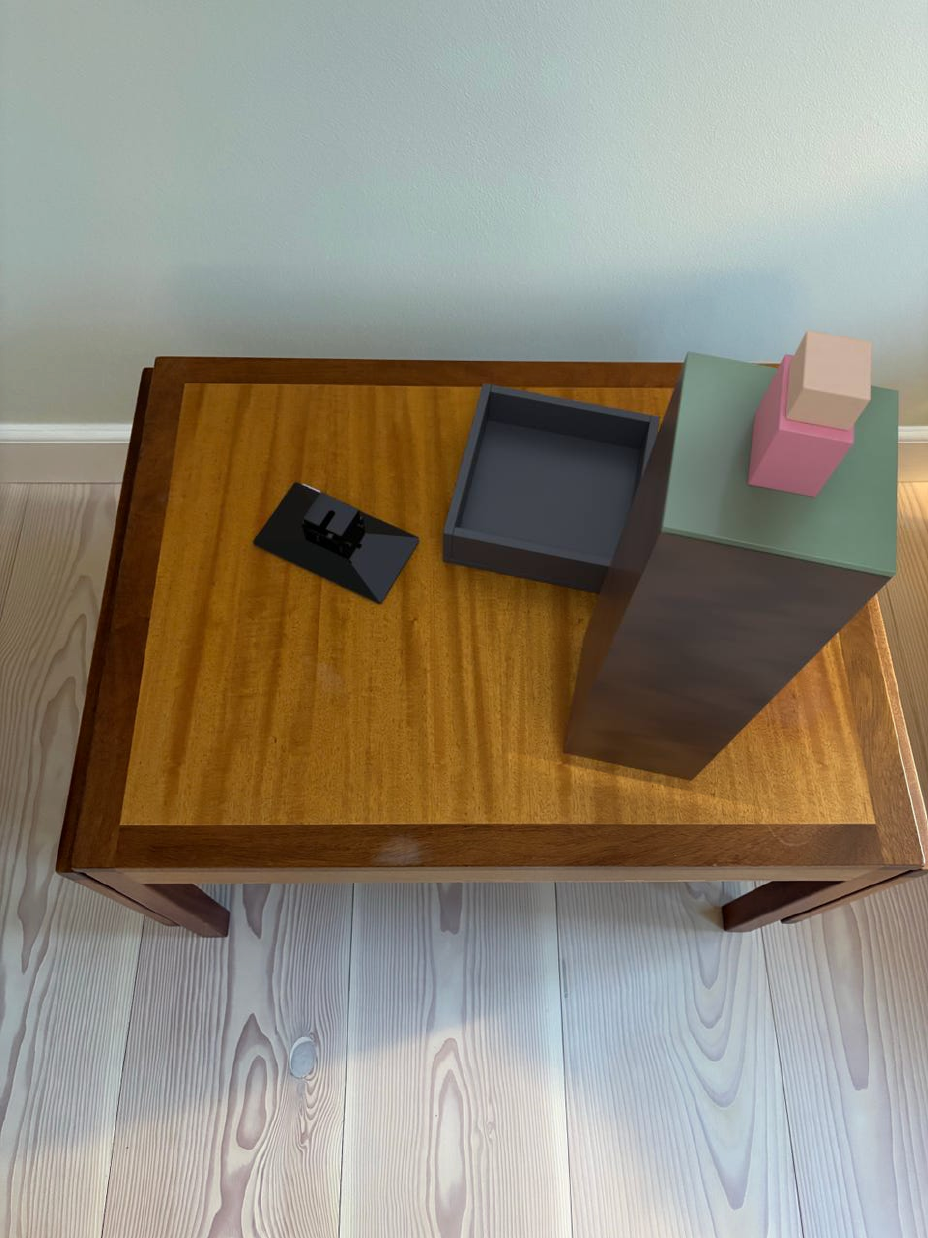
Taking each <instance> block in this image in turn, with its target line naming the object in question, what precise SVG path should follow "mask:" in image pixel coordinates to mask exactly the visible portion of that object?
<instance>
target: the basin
mask: <svg viewBox="0 0 928 1238" xmlns="http://www.w3.org/2000/svg"><path fill="white" fill-rule="evenodd" d="M660 420H661V416H658V415H652V414H647V413H641V412H637V411H632V410H628V409H622V408H617V407H612V406H605V405H601V404H595V403H591V402H586V401H580V400H575V399H569V398H564V397H559V396H554V395H548V394H544V393H538V392H532V391H528V390H523V389H517V388H512V387H506V386H502V385H497V384H491V383H485V382H483V383H482V385H481V389H480V392H479V396H478V400H477V404H476V406H475V411H474V413H473V418H472V423H471V425H470V430H469V434H468V437H467V440H466V444H465V448H464V452H463V455H462V458H461V459H462V460H461V463H460V467H459V471H458V475H457V478H456V482H455V486H454V490H453V493H452V497H451V500H450V505H449V509H448V512H447V516H446V520H445V523H444V527H443V532H442V562H443V563H448V564H452V565H457V566H461V567H467V568H472V569H475V570H476V569H477V570H482V571H486V572H491V573H495V574H496V573H497V574H501V575H505V576H511V577H515V578H520V579H526V580H530V581H533V582H534V581H535V582H540V583H545V584H550V585H554V586H560V587H564V588H569V589H573V590H579V591H583V592H588V593H593V594H598V595H599V594H600V591H601V588H602V586H603V583H604V580H605V577H606V575H607V572H608V569H609V566H610V564H611V561H612V558H613V555H614V553H615V550H616V547H617V544H618V542H619V539H620V536H621V533H622V531H623V528H624V525H625V522H626V520H627V517H628V514H629V511H630V509H631V506H632V503H633V500H634V498H635V495H636V492H637V489H638V487H639V484H640V481H641V478H642V476H643V473H644V470H645V467H646V465H647V462H648V459H649V456H650V454H651V451H652V448H653V445H654V443H655V440H656V437H657V434H658V432H659V428H660V427H659V426H660Z"/></svg>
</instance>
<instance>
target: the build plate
mask: <svg viewBox="0 0 928 1238" xmlns="http://www.w3.org/2000/svg"><path fill="white" fill-rule="evenodd" d="M252 543H253V545H254V547H256V548H259V549H260V550H264V551H265V552H267V553H269V554H272V555H274V556H275V557H278V558H280V559H282V560H284V561H287V563H288V562H289V563H291V564H292V565H295V566H297V567H299V568H301V569H303V570H305V571H308V572H309V573H312V574H314V575H316V576H317V577H321V578H322V579H324V580H327V581H328V582H331V583H332V584H334V585H337V586H339V587H341V588H343V589H345V590H348V591H350V592H352V593H354V594H356V595H359V596H361V597H363V598H365V599H366V600H369V601H371V602H373V603H375V604H378V605H381V604H383V602H384V601H385V599H386V597H387V595H388V594H389V592H390V591H391V589H392V587H393V585H394V584H395V582H396V581H397V579H398V578H399V576H400V574H401V572H402V571H403V569H404V568H405V566H406V565H407V563H408V561H409V559H410V558H411V556H412V555H413V553H414V551H415V550H416V548H417V546H418V544H419V543H420V537H419V536H417V535H414V534H413V533H410V532H409V531H406V530H404V529H401V528H399V527H397V526H394V525H393V524H390V523H388V522H386V521H384V520H381V519H380V518H377V517H375V516H373V515H371V514H368V513H366V512H363V511H361V510H360V509H359V508H357V507H355V506H353V505H351V504H348V503H346V502H343V501H342V500H340V499H338V498H335V497H333V496H330V495H329V494H326V493H324V492H322V491H320V490H319V489H316V488H314V487H312V486H310V485H307V484H306V483H300V482H297V481H296V482H293V484H292V485H291V487H290V488H289V490H288V491H287V492H286V493H285V495H284V496H283V498H282V499H281V501H280V502H279V504H278V505H277V506H276V508H275V509H274V511H273V512H272V513H271V515H270V516H269V517H268V519H267V521H266V522H265V523H264V525H263V526H262V528H261V529H260V530H259V532H258V533H257V534H256V536H255V538H254V539H253V541H252Z"/></svg>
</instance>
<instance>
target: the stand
mask: <svg viewBox="0 0 928 1238" xmlns="http://www.w3.org/2000/svg"><path fill="white" fill-rule="evenodd" d="M777 369H778V367H774V366H768V365H762V364H757V363H753V362H747V361H742V360H735V359H731V358H725V357H721V356H715V355H709V354H705V353H698V352H694V351H687V353H686V355H685V357H684V360H683V363H682V365H681V368H680V371H679V374H678V376H677V379H676V382H675V385H674V387H673V390H672V393H671V396H670V398H669V402H668V405H667V407H666V410H665V413H664V415H663V418H662V421H661V424H660V425H659V426H660V427H659V428H658V434H657V437H656V440H655V443H654V445H653V448H652V451H651V454H650V456H649V459H648V462H647V465H646V467H645V470H644V473H643V476H642V478H641V481H640V484H639V487H638V489H637V492H636V495H635V498H634V500H633V503H632V506H631V509H630V511H629V514H628V517H627V520H626V522H625V525H624V528H623V531H622V533H621V536H620V539H619V542H618V544H617V547H616V550H615V553H614V555H613V558H612V561H611V564H610V566H609V569H608V572H607V575H606V577H605V580H604V583H603V586H602V588H601V591H600V594H598V596H597V600H596V603H595V604H594V608H593V610H592V613H591V616H590V618H589V622H588V624H587V627H586V629H585V632H584V636H583V638H582V645H581V649H580V655H579V661H578V665H577V672H576V678H575V684H574V690H573V695H572V699H571V705H570V712H569V718H568V723H567V729H566V734H565V740H564V746H563V751H562V752H563V754H567V755H572V756H576V757H581V758H585V759H591V760H594V761H599V762H603V763H608V764H613V765H617V766H622V767H626V768H630V769H637V770H641V771H645V772H650V773H653V774H659V775H663V776H669V777H672V778H677V779H682V780H686V781H691V782H692V781H694V779H695V778H696V777H697V776H698V775H699V774H700V773H702V771H703V770H704V769H705V768H706V767H707V766H708V765H709V764H710V763H711V762H712V761H713V760H714V759H715V758H716V757H717V756H718V755H719V754H720V753H721V752H722V751H723V750H724V749H725V748H727V746H728V745H729V744H730V743H731V742H732V741H733V740H734V739H736V737H737V736H738V735H739V734H740V733H741V732H742V731H743V730H744V729H745V728H746V726H748V725H749V723H751V722H752V720H754V718H755V717H756V716H757V715H758V714H760V713H761V711H762V710H763V709H764V708H765V707H766V706H768V704H770V702H771V701H772V700H773V699H774V698H775V697H776V696H777V695H778V694H779V693H780V692H781V691H782V690H784V688H785V687H786V686H787V685H788V684H789V683H790V682H791V681H792V680H793V679H794V678H795V677H796V676H797V675H798V674H799V673H800V672H801V671H802V670H803V669H804V668H805V667H806V666H807V665H808V664H809V663H810V662H811V661H812V660H813V658H815V657H816V656H817V655H818V654H819V652H820V651H822V649H824V648H825V646H827V644H829V643H830V641H832V639H834V637H836V635H838V633H839V632H840V631H841V630H842V629H843V628H844V627H846V625H847V624H848V623H850V621H852V619H853V618H854V617H855V616H856V615H857V614H858V613H859V612H860V611H861V610H862V609H863V608H864V607H865V606H866V605H867V604H868V603H869V602H870V601H871V600H872V599H873V598H874V597H875V596H876V595H877V594H878V593H879V592H880V591H881V590H882V589H883V588H884V587H885V586H886V584H888V582H889V581H891V579H892V578H894V576H896V574H897V572H898V570H897V569H898V568H897V566H898V562H897V560H898V493H899V492H898V490H899V489H898V488H899V487H898V483H899V471H898V470H899V469H898V468H899V414H900V413H899V408H900V407H899V404H900V403H899V402H900V401H899V400H900V399H899V398H900V390H898V389H891V388H887V387H881V386H876V385H871V400H870V401H869V403H868V404H867V406H866V407H865V409H864V410H863V412H862V413H861V414H860V416H859V417H858V419H857V420H856V422H855V423H854V443H853V444H852V446H851V447H850V449H849V450H848V452H847V453H846V454H845V456H844V457H843V459H842V460H841V462H840V463H839V464H838V466H837V467H836V469H835V470H834V472H833V473H832V474H831V476H830V477H829V479H828V480H827V482H826V483H825V485H824V486H823V487H822V489H821V490H820V492H819V493H818V495H817V496H816V497H810V496H805V495H800V494H795V493H790V492H785V491H780V490H775V489H770V488H764V487H759V486H754V485H749V484H748V479H749V469H750V458H751V448H752V438H753V428H754V418H755V413H756V411H757V409H758V407H759V405H760V403H761V401H762V399H763V397H764V395H765V393H766V391H767V389H768V387H769V385H770V383H771V381H772V379H773V377H774V375H775V373H776V371H777Z"/></svg>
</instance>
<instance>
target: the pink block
mask: <svg viewBox="0 0 928 1238" xmlns="http://www.w3.org/2000/svg"><path fill="white" fill-rule="evenodd" d="M872 360H873V342H872V341H871V340H865V339H860V338H854V337H849V336H843V335H837V334H833V333H832V334H831V333H827V332H822V331H815V330H810V329H808V330H806V332H805V333H804V335H803V338H802V339H801V341H800V343H799V345H798V347H797V349H796V351H795V352H794V355H793V354H787V353H786V354H784V356H783V358H782V360H781V361H780V364H779V365H778V367H777V368H778V369H777V371H776V373H775V375H774V377H773V379H772V381H771V383H770V385H769V387H768V389H767V391H766V393H765V395H764V397H763V399H762V401H761V403H760V405H759V407H758V409H757V411H756V413H755V418H754V428H753V438H752V448H751V458H750V469H749V479H748V484H749V485H754V486H759V487H764V488H770V489H775V490H780V491H785V492H790V493H795V494H800V495H805V496H810V497H816V496H817V495H818V493H819V492H820V490H821V489H822V487H823V486H824V485H825V483H826V482H827V480H828V479H829V477H830V476H831V474H832V473H833V472H834V470H835V469H836V467H837V466H838V464H839V463H840V462H841V460H842V459H843V457H844V456H845V454H846V453H847V452H848V450H849V449H850V447H851V446H852V444H853V443H854V423H855V422H856V420H857V419H858V417H859V416H860V414H861V413H862V412H863V410H864V409H865V407H866V406H867V404H868V403H869V401H870V400H871V386H872V365H873V364H872V363H873V362H872Z"/></svg>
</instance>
